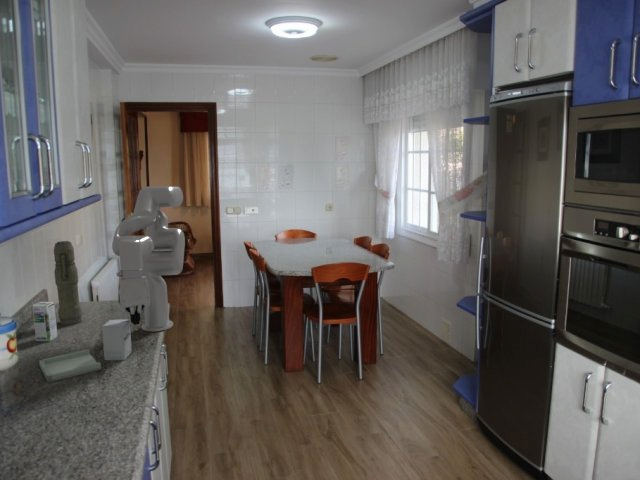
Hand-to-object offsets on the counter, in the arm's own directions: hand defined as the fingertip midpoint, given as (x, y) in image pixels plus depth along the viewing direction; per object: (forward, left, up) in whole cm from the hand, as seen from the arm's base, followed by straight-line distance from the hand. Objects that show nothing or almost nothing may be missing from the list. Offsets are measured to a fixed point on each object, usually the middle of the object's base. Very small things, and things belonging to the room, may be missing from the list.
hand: (135, 323), depth 186 cm
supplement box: (0, -7, -11) cm, 13 cm away
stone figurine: (-52, -12, -11) cm, 55 cm away
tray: (0, -23, -11) cm, 25 cm away
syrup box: (-36, -24, -11) cm, 45 cm away
